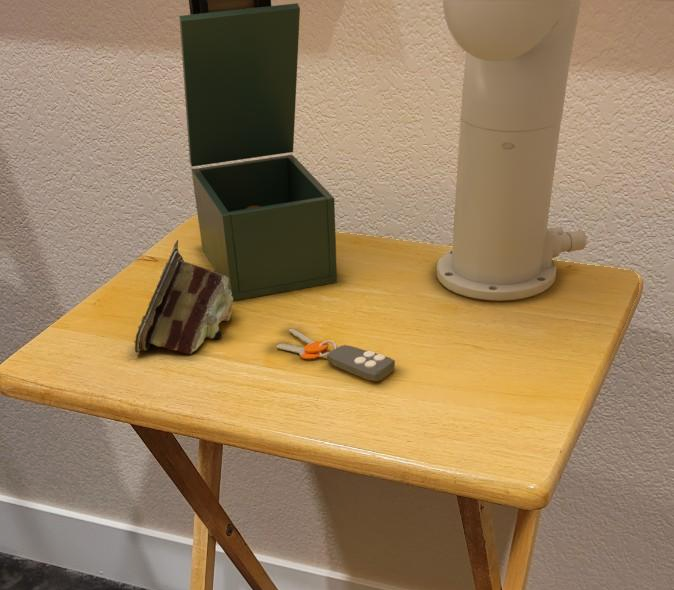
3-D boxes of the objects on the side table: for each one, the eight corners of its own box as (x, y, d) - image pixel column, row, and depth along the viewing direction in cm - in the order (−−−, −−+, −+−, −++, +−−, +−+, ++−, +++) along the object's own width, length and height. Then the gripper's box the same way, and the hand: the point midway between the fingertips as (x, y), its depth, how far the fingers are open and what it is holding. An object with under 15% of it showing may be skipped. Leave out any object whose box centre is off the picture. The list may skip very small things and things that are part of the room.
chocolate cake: (201, 372, 82) (242, 249, 82) (129, 347, 82) (170, 224, 82) (213, 392, 92) (249, 282, 92) (148, 370, 92) (185, 259, 91)
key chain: (399, 369, 81) (399, 354, 80) (375, 386, 79) (375, 371, 78) (291, 331, 87) (290, 317, 86) (266, 346, 85) (265, 332, 84)
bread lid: (300, 7, 84) (282, -29, 87) (181, 20, 82) (165, -18, 84) (293, 152, 98) (277, 117, 100) (191, 167, 96) (178, 130, 98)
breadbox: (337, 282, 95) (334, 197, 89) (232, 301, 92) (222, 215, 86) (297, 233, 105) (292, 154, 99) (202, 249, 102) (191, 168, 96)
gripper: (294, -210, 80) (304, 25, 92) (105, -201, 76) (142, 41, 89) (319, -208, 75) (326, 41, 87) (118, -199, 71) (155, 59, 84)
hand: (233, 39), depth 88 cm, fingers closed on bread lid, 5 cm apart
